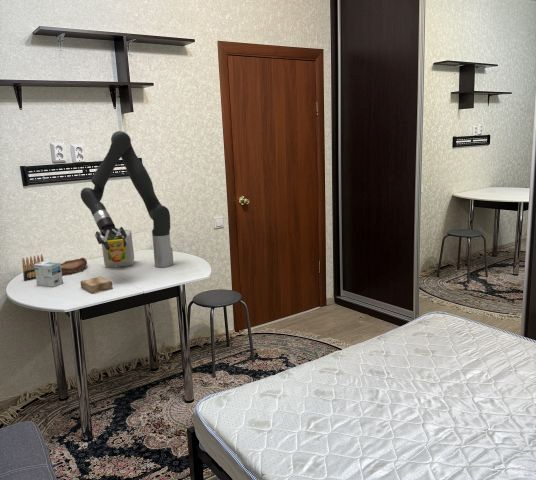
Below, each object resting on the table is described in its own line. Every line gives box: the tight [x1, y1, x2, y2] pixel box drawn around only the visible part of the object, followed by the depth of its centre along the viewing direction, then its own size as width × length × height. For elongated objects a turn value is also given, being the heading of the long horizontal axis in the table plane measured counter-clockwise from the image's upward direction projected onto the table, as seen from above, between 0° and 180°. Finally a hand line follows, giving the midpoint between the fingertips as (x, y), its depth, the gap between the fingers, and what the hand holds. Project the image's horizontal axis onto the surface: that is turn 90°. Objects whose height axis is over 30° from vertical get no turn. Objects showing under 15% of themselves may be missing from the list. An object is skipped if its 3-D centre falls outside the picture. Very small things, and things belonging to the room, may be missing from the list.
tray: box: [79, 275, 113, 295], centre depth 235 cm, size 10×12×4 cm
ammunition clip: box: [21, 254, 45, 282], centre depth 253 cm, size 11×2×12 cm, turn 131°
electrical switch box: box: [101, 229, 135, 268], centre depth 271 cm, size 15×15×20 cm
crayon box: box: [107, 235, 125, 261], centre depth 240 cm, size 7×3×12 cm, turn 114°
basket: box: [61, 257, 88, 276], centre depth 268 cm, size 22×20×5 cm
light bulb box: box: [33, 260, 64, 288], centre depth 243 cm, size 11×7×11 cm, turn 71°
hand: (117, 247), depth 239 cm, fingers closed on crayon box, 8 cm apart
